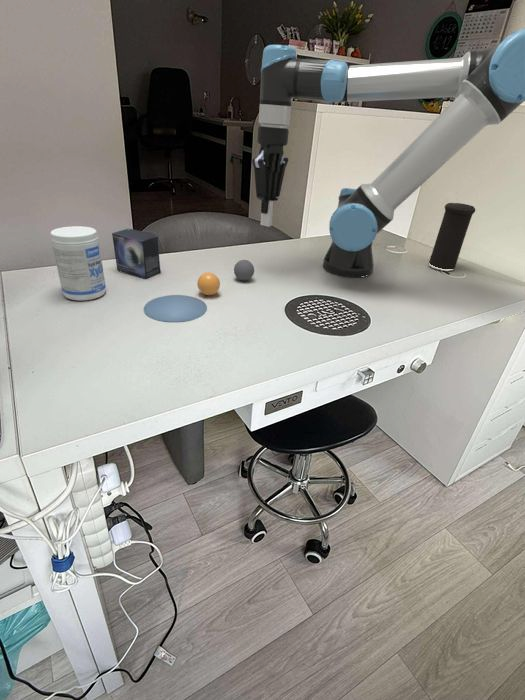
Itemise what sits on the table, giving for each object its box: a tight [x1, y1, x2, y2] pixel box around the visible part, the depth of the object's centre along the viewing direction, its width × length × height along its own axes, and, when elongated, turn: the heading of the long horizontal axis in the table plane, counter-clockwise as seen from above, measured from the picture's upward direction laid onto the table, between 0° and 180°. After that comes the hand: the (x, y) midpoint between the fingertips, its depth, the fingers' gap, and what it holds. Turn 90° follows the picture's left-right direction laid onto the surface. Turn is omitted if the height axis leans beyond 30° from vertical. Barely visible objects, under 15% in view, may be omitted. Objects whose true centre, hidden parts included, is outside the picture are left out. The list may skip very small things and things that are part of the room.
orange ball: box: [196, 272, 221, 296], centre depth 95 cm, size 6×6×6 cm
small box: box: [111, 228, 162, 280], centre depth 104 cm, size 11×6×10 cm, turn 62°
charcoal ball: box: [233, 259, 255, 282], centre depth 105 cm, size 6×6×6 cm
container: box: [428, 202, 476, 270], centre depth 122 cm, size 9×9×20 cm
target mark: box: [143, 294, 208, 323], centre depth 89 cm, size 14×14×1 cm
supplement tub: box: [50, 225, 107, 301], centre depth 88 cm, size 10×10×15 cm
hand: (266, 225), depth 106 cm, fingers closed
